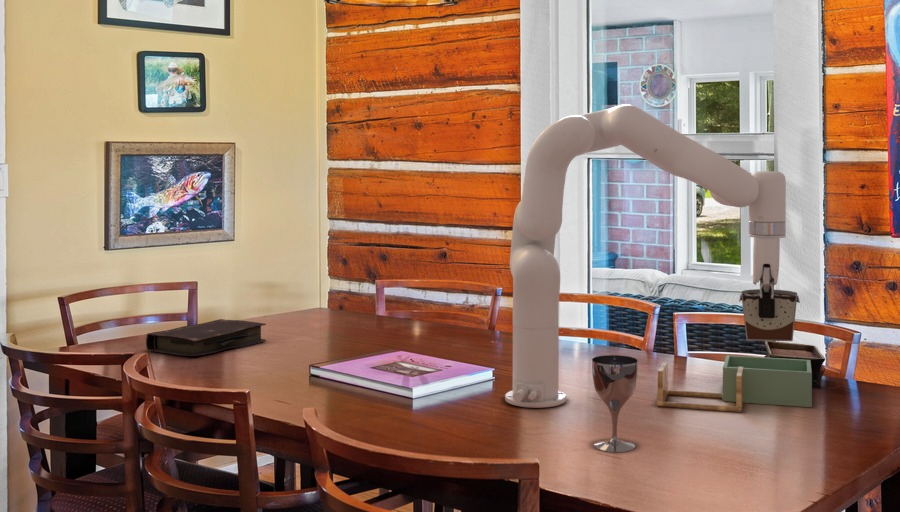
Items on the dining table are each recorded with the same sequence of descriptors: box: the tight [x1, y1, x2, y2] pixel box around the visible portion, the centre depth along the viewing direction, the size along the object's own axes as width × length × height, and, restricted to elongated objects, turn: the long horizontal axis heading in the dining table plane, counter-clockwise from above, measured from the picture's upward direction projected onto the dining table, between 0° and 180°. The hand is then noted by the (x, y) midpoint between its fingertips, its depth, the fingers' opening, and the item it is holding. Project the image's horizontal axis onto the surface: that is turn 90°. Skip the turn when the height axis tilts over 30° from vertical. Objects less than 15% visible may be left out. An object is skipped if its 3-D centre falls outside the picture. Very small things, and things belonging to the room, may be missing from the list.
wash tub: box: [722, 354, 813, 408], centre depth 203 cm, size 13×18×7 cm
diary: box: [145, 318, 267, 357], centre depth 255 cm, size 19×25×5 cm
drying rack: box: [656, 361, 744, 413], centre depth 198 cm, size 11×17×7 cm, turn 74°
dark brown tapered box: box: [764, 341, 826, 388], centre depth 218 cm, size 14×18×10 cm
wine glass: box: [591, 354, 639, 453], centre depth 169 cm, size 8×8×15 cm
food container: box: [738, 288, 801, 342], centre depth 203 cm, size 12×6×10 cm, turn 84°
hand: (767, 314), depth 203 cm, fingers closed on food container, 6 cm apart
